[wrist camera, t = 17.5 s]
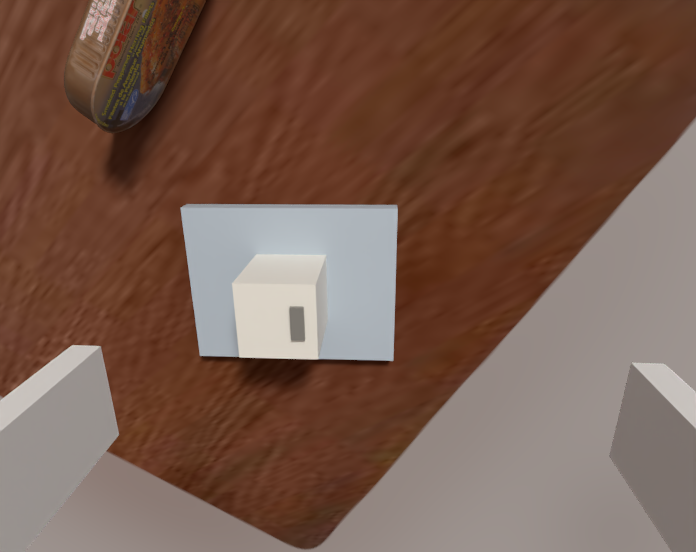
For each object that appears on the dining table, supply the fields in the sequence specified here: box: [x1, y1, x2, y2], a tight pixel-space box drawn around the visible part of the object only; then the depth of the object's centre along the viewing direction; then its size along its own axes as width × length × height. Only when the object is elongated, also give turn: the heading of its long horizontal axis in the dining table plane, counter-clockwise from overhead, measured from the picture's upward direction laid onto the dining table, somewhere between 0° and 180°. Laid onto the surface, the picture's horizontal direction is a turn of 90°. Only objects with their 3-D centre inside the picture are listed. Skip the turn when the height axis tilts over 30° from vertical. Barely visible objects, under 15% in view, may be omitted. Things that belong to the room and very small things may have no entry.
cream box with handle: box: [232, 254, 328, 359], centre depth 37 cm, size 6×6×7 cm
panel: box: [181, 204, 398, 361], centre depth 39 cm, size 18×14×6 cm
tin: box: [64, 0, 206, 133], centre depth 32 cm, size 15×3×8 cm, turn 146°
